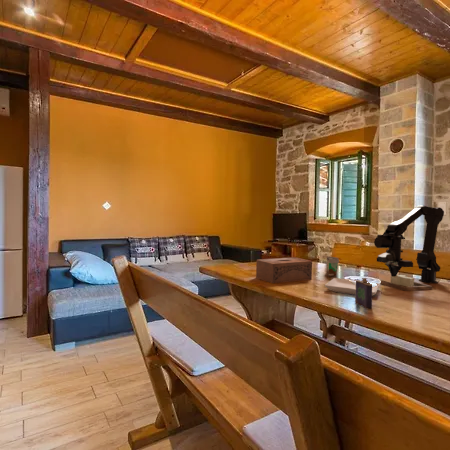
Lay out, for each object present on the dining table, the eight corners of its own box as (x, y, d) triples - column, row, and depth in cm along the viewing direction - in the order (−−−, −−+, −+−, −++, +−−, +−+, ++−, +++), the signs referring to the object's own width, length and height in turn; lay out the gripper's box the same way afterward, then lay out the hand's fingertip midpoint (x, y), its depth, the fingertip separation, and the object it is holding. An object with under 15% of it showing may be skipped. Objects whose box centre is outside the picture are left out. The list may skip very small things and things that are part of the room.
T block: (400, 282, 167) (400, 274, 167) (416, 285, 160) (417, 277, 160) (390, 284, 161) (390, 276, 161) (407, 287, 155) (407, 279, 155)
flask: (353, 302, 127) (354, 275, 127) (360, 302, 127) (361, 275, 127) (367, 309, 118) (368, 280, 117) (374, 309, 118) (375, 280, 118)
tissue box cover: (293, 274, 183) (294, 257, 183) (311, 279, 170) (312, 261, 170) (256, 278, 171) (256, 259, 171) (272, 283, 158) (272, 263, 158)
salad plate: (380, 289, 151) (380, 282, 151) (375, 299, 132) (376, 291, 132) (334, 283, 162) (334, 277, 161) (323, 292, 143) (323, 284, 143)
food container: (340, 277, 175) (340, 259, 175) (328, 277, 177) (329, 259, 176) (337, 273, 187) (337, 256, 187) (326, 273, 189) (326, 256, 188)
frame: (405, 282, 167) (405, 279, 167) (432, 289, 152) (432, 286, 152) (380, 283, 163) (380, 280, 163) (404, 290, 148) (405, 287, 148)
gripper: (368, 246, 171) (367, 274, 172) (396, 250, 153) (394, 282, 154) (386, 245, 174) (384, 274, 175) (414, 250, 156) (413, 281, 157)
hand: (393, 278), depth 165 cm, fingers closed
